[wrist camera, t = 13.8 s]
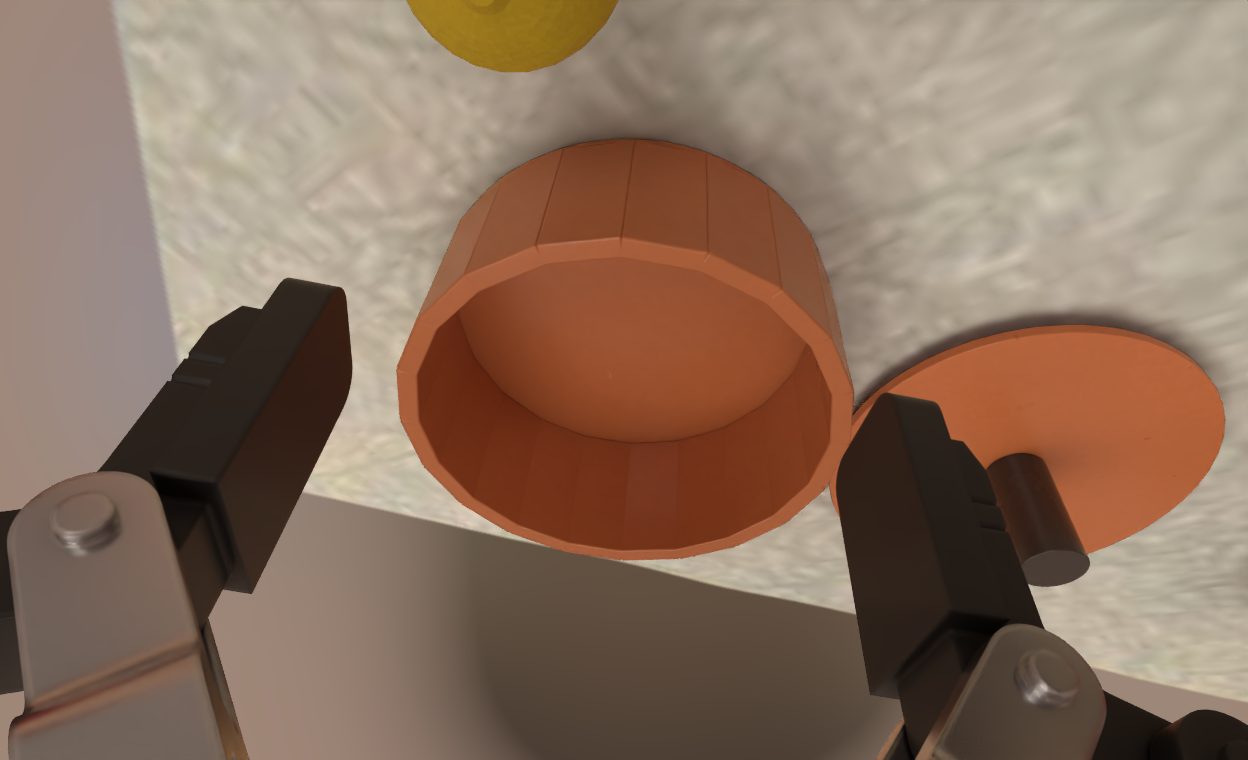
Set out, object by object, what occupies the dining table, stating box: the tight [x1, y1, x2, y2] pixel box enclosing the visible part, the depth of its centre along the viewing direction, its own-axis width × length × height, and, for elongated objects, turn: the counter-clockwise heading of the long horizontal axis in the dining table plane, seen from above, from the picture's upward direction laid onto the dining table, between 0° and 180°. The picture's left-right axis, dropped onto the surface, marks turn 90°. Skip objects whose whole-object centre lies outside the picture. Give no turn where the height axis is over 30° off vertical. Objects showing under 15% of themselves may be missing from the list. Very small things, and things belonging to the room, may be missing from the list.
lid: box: [829, 325, 1225, 587], centre depth 32 cm, size 16×16×6 cm
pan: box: [396, 139, 854, 560], centre depth 28 cm, size 15×15×6 cm
